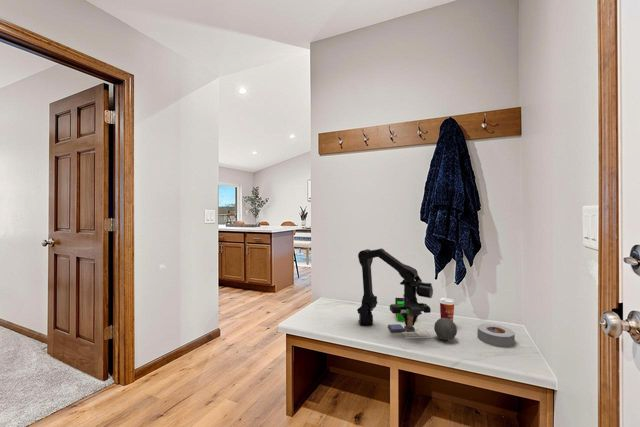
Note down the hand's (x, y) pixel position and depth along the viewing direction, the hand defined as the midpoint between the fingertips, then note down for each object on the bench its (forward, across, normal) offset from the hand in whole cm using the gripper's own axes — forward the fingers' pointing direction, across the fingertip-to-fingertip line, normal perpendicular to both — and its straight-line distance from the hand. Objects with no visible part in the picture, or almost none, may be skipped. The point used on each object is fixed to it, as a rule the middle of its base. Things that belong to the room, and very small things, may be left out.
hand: (409, 325), depth 153 cm
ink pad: (+4, -5, +6) cm, 9 cm away
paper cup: (+5, +23, +9) cm, 25 cm away
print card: (+4, +3, 0) cm, 6 cm away
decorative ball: (+5, +15, -6) cm, 17 cm away
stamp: (+2, 0, 0) cm, 2 cm away
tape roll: (+5, +39, -8) cm, 40 cm away
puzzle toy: (+5, +5, +21) cm, 22 cm away
